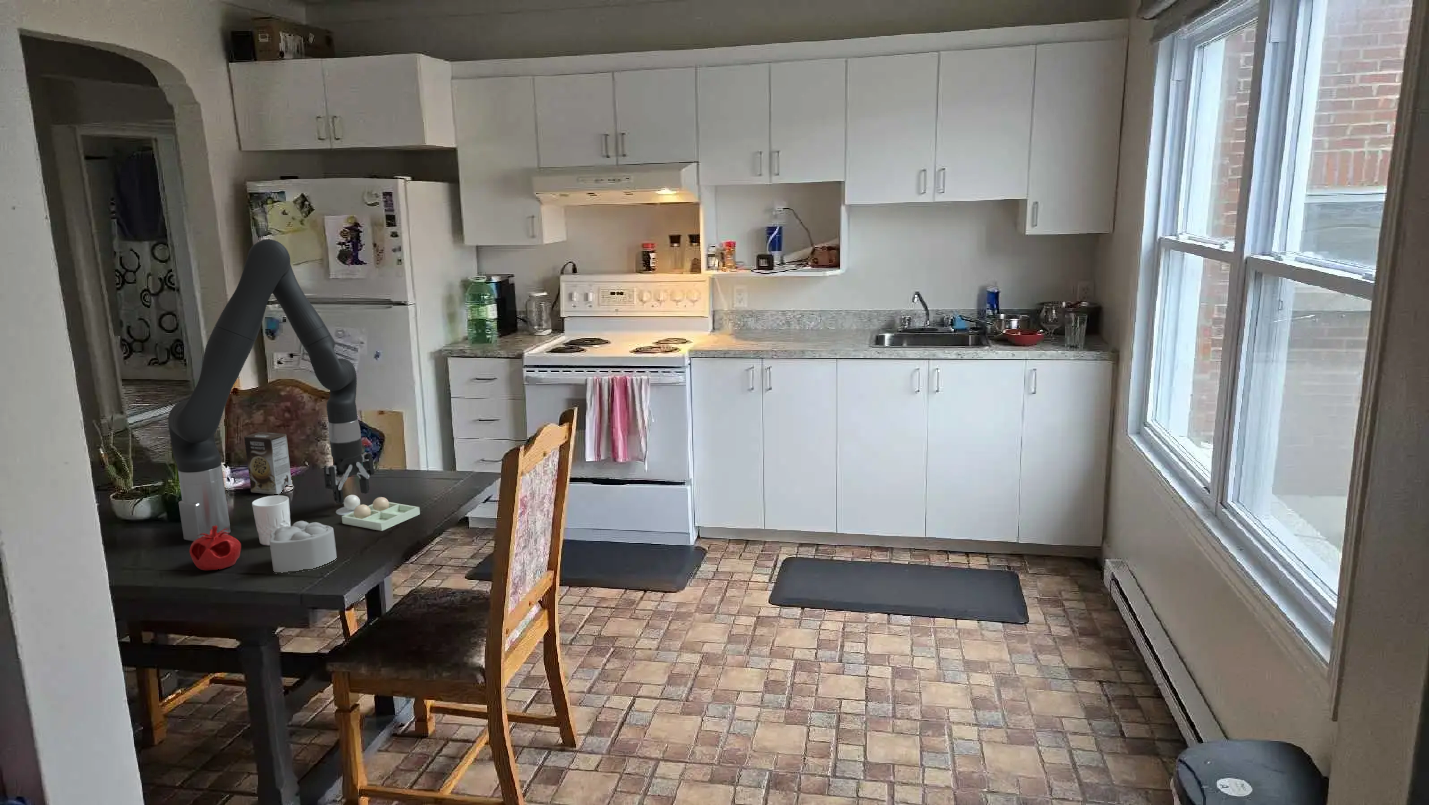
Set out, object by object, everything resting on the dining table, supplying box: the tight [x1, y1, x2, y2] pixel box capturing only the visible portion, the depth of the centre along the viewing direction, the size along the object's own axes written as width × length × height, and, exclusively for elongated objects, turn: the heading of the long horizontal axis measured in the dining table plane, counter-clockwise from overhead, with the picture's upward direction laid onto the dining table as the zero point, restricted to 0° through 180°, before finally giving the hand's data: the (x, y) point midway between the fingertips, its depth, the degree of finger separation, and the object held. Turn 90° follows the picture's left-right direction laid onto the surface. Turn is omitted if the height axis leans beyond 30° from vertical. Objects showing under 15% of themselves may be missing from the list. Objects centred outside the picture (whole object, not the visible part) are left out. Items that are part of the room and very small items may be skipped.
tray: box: [341, 496, 421, 532], centre depth 232 cm, size 13×13×5 cm
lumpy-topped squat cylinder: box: [269, 520, 337, 573], centre depth 206 cm, size 10×13×9 cm
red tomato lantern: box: [189, 525, 242, 571], centre depth 205 cm, size 10×10×9 cm
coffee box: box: [243, 431, 293, 495], centre depth 257 cm, size 9×6×16 cm
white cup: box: [251, 494, 292, 546], centre depth 220 cm, size 8×8×10 cm
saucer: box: [335, 506, 354, 516], centre depth 239 cm, size 8×8×1 cm
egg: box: [343, 494, 361, 510], centre depth 239 cm, size 4×4×4 cm
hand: (352, 498), depth 239 cm, fingers open, 8 cm apart
